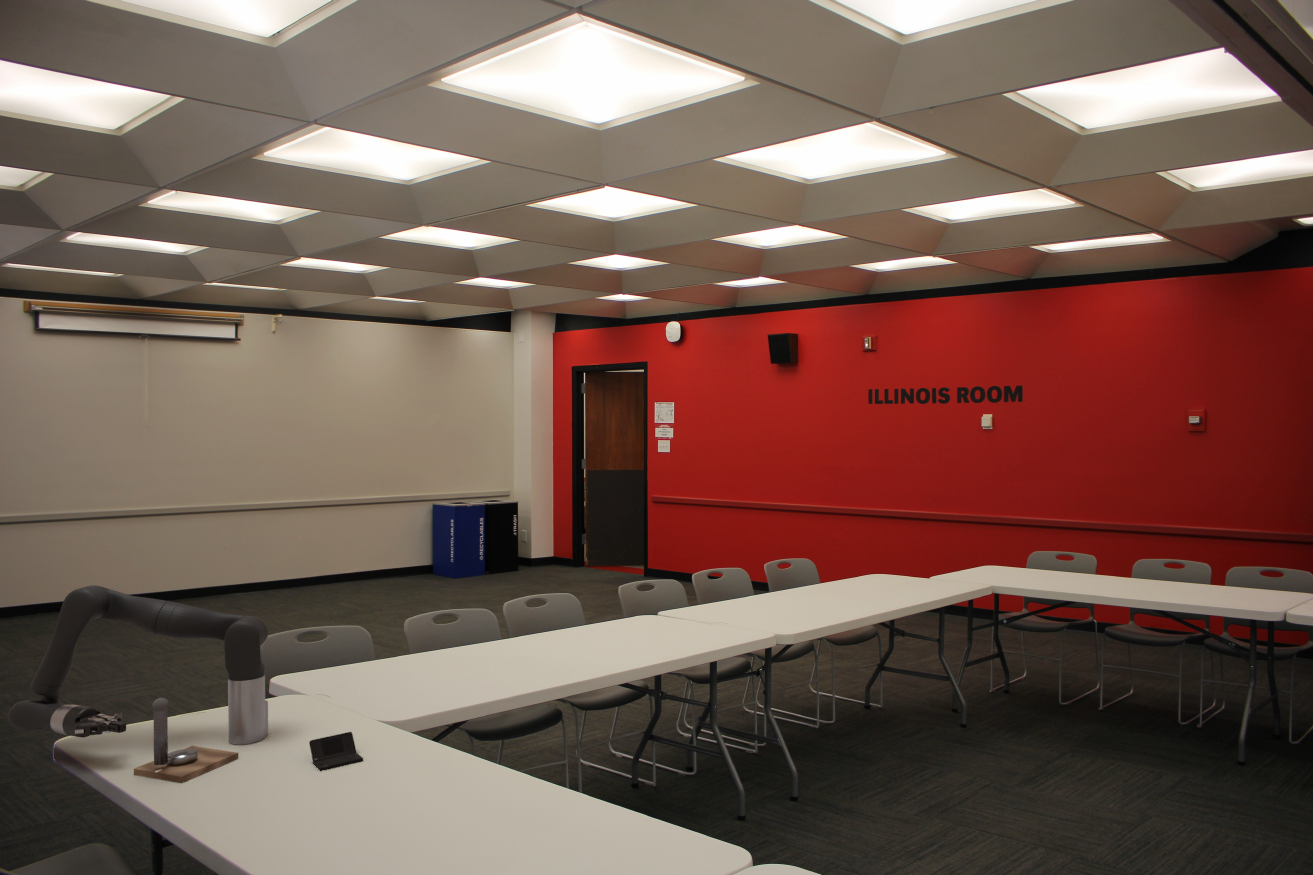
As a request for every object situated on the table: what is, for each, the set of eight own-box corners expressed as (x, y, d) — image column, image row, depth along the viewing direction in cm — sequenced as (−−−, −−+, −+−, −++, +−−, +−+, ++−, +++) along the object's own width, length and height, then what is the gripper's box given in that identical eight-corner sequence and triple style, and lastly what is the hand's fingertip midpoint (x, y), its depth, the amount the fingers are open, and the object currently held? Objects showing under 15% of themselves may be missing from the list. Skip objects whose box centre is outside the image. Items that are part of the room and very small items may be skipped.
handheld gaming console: (324, 766, 214) (317, 728, 219) (311, 779, 217) (305, 741, 222) (367, 760, 222) (359, 724, 227) (354, 773, 225) (347, 736, 230)
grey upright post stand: (185, 752, 223) (185, 686, 223) (203, 756, 220) (203, 690, 220) (144, 767, 214) (144, 698, 214) (163, 771, 211) (162, 701, 211)
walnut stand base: (192, 751, 230) (192, 744, 230) (238, 758, 224) (238, 751, 224) (133, 774, 214) (133, 767, 214) (181, 782, 209) (181, 775, 209)
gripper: (49, 713, 219) (98, 720, 213) (99, 698, 231) (147, 705, 225) (50, 743, 219) (98, 751, 213) (99, 726, 231) (147, 734, 225)
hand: (123, 727), depth 219 cm, fingers closed
